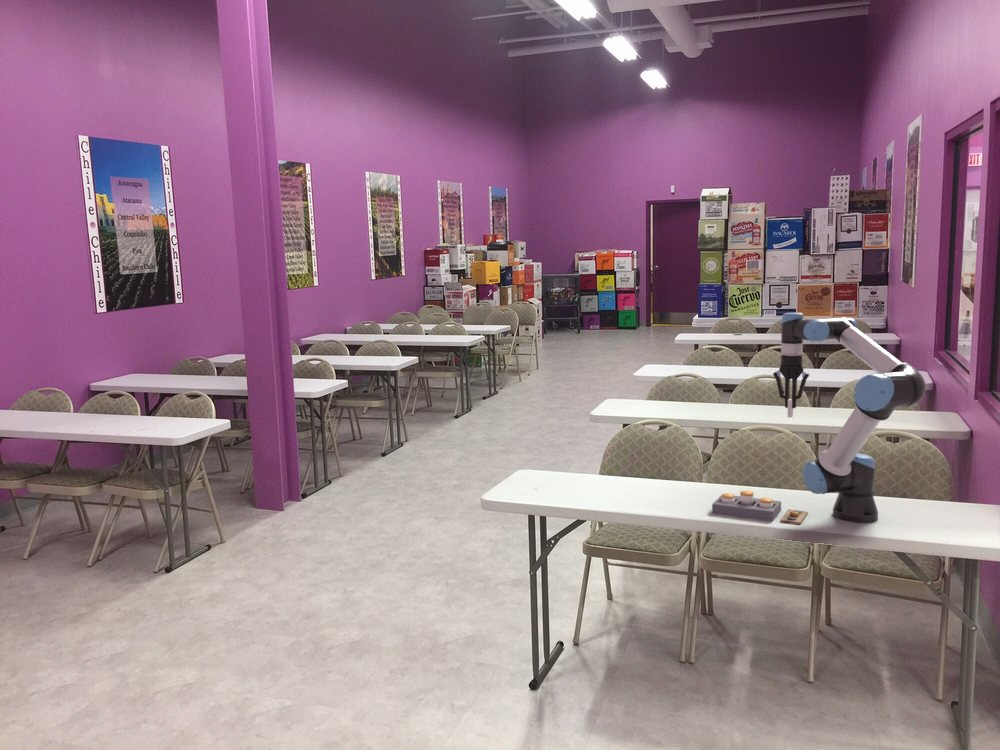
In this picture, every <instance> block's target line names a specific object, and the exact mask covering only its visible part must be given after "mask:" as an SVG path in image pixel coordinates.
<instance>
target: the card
mask: <svg viewBox="0 0 1000 750" xmlns="http://www.w3.org/2000/svg"><path fill="white" fill-rule="evenodd" d="M808 515H809V511H807V510H806V511H804V510H796V509H790V508H789V509H787V510H786V511H785V513H784V514H783V515H782V517H780V520H779V522H780V523H785V524H792V525H802V524H803V522H804V520H805V519H806V517H807V516H808Z"/></svg>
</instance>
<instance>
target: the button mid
mask: <svg viewBox="0 0 1000 750" xmlns="http://www.w3.org/2000/svg"><path fill="white" fill-rule="evenodd" d="M739 494H740V495H739V496H740V504H742V505H750V506H752V505H754V498H755V497H754V495H755V493H754V491H751V490H741V491H740V492H739Z"/></svg>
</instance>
